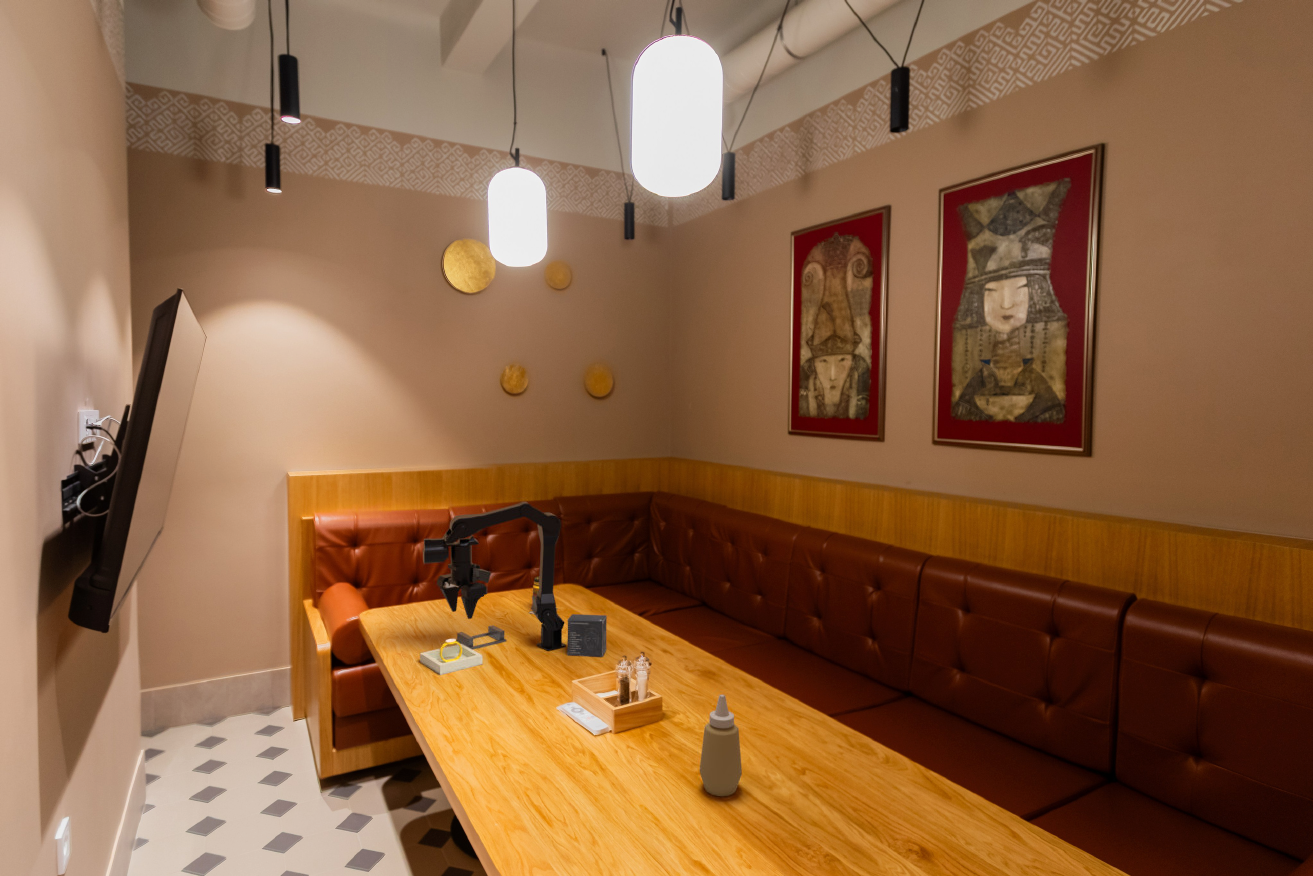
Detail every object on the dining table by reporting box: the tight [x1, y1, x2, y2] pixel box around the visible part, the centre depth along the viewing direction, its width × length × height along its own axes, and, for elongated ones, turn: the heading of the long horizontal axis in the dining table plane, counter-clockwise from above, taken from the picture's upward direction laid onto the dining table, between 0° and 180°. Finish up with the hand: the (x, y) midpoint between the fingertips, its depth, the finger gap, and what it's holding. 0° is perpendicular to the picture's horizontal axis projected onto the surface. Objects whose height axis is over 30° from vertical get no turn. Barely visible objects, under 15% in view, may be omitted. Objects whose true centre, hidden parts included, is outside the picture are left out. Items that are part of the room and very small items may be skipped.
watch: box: [439, 638, 462, 662], centre depth 199 cm, size 6×3×6 cm, turn 121°
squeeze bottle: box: [699, 694, 743, 797], centre depth 136 cm, size 8×8×18 cm
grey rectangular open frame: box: [455, 624, 507, 650], centre depth 217 cm, size 9×12×3 cm
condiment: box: [528, 575, 558, 615], centre depth 250 cm, size 7×8×12 cm
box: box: [566, 613, 608, 658], centre depth 209 cm, size 11×7×10 cm, turn 84°
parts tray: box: [419, 644, 483, 676], centre depth 199 cm, size 12×12×2 cm
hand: (461, 615), depth 204 cm, fingers open, 9 cm apart
